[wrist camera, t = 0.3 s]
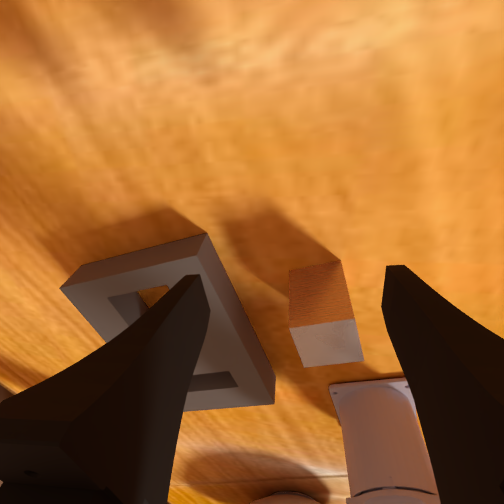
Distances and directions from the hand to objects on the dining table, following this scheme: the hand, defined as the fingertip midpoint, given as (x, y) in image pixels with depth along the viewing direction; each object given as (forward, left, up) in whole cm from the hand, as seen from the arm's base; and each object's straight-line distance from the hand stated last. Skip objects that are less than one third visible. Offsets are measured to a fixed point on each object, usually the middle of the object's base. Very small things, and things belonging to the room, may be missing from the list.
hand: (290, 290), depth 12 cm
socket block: (-10, +13, -10) cm, 19 cm away
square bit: (-8, 0, -10) cm, 13 cm away
